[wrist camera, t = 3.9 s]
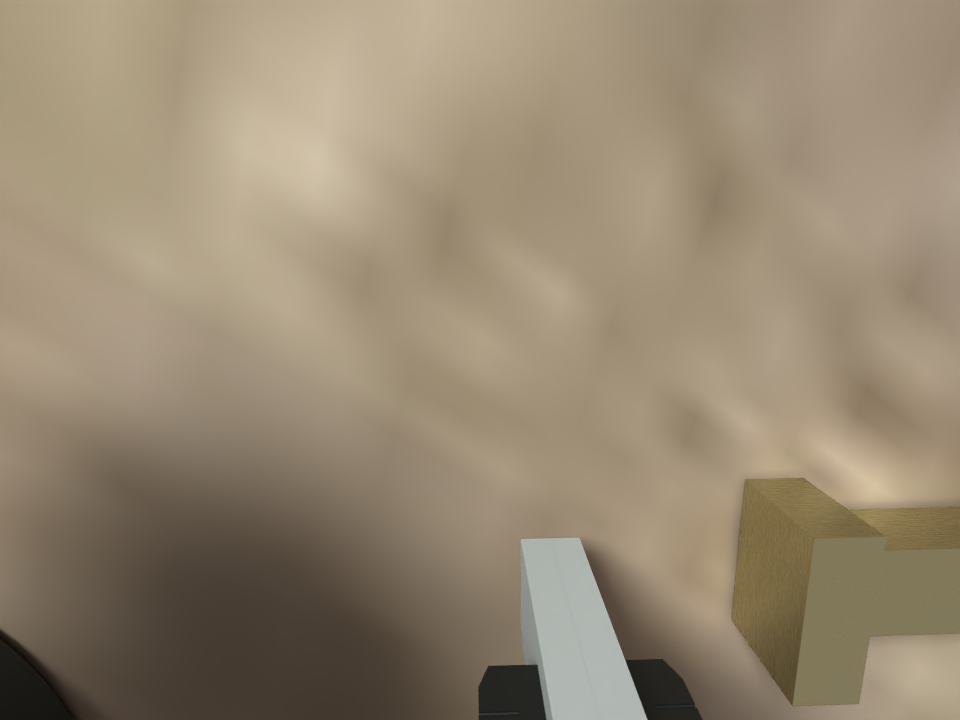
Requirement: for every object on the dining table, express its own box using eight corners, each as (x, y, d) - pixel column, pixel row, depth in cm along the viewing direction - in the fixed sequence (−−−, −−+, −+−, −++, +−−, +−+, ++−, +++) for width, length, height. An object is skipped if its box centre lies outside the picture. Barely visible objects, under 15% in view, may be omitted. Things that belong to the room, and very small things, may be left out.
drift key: (731, 619, 16) (792, 706, 13) (745, 479, 15) (814, 538, 12) (1026, 610, 16) (1153, 693, 13) (1059, 471, 15) (1203, 527, 12)
